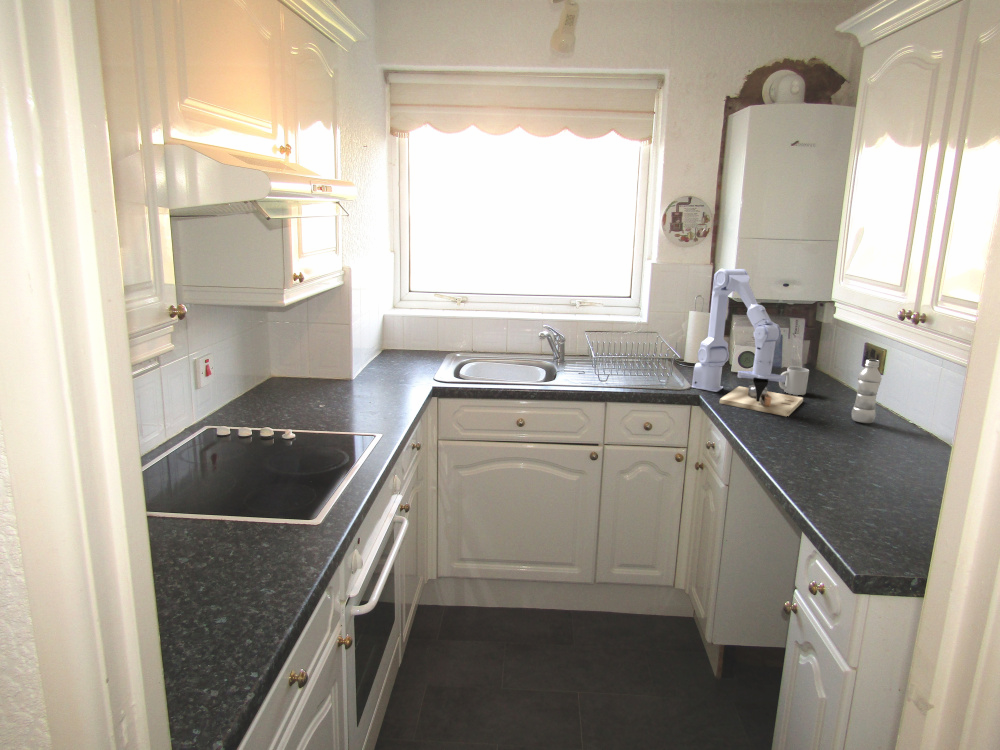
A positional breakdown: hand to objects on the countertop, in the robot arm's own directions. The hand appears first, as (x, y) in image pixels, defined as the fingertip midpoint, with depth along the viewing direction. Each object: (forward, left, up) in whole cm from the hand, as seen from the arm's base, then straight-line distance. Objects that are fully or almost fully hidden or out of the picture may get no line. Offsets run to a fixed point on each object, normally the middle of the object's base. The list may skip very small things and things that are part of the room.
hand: (757, 400), depth 226 cm
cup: (+5, +29, -3) cm, 29 cm away
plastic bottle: (+31, +7, -3) cm, 31 cm away
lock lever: (0, +5, -1) cm, 5 cm away
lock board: (0, +8, -2) cm, 8 cm away
